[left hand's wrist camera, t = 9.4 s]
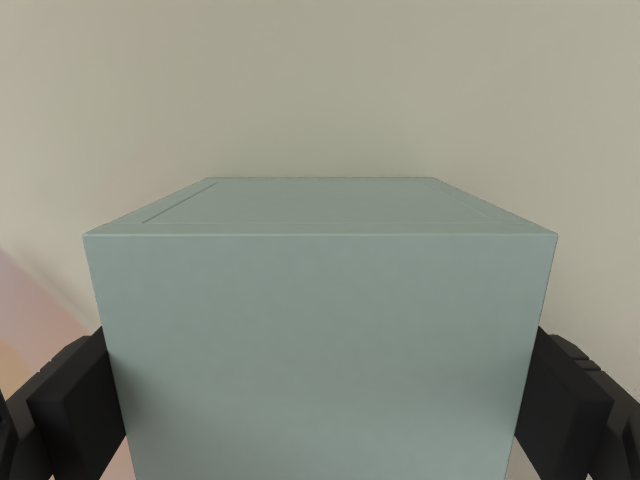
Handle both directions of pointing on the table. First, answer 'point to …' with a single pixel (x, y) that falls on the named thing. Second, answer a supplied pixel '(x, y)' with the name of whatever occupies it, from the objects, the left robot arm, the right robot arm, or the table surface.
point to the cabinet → (320, 329)
